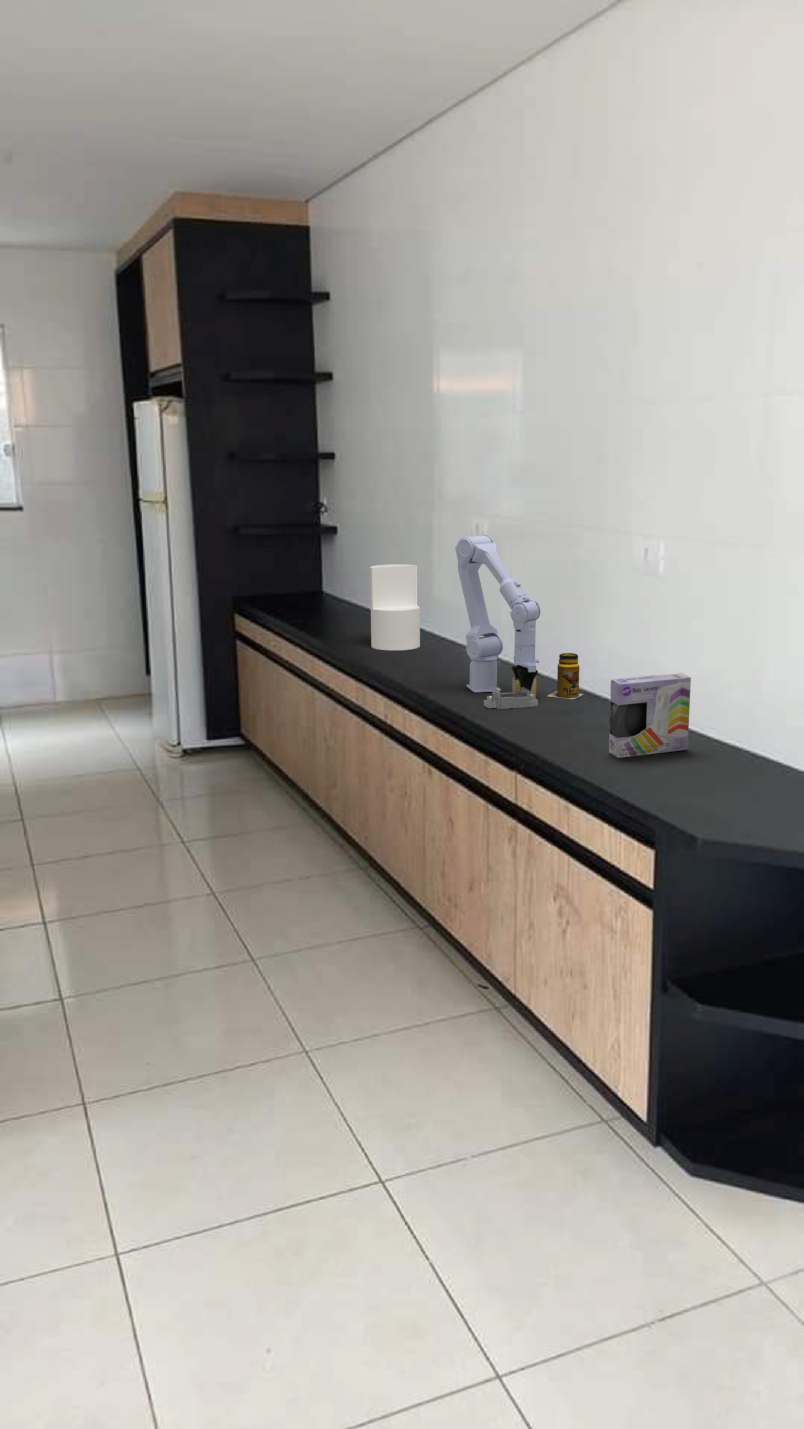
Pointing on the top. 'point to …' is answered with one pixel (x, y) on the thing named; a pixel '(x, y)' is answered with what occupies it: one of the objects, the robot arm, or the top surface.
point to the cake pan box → (649, 714)
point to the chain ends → (511, 699)
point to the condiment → (567, 677)
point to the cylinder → (394, 607)
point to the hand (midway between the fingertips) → (524, 692)
